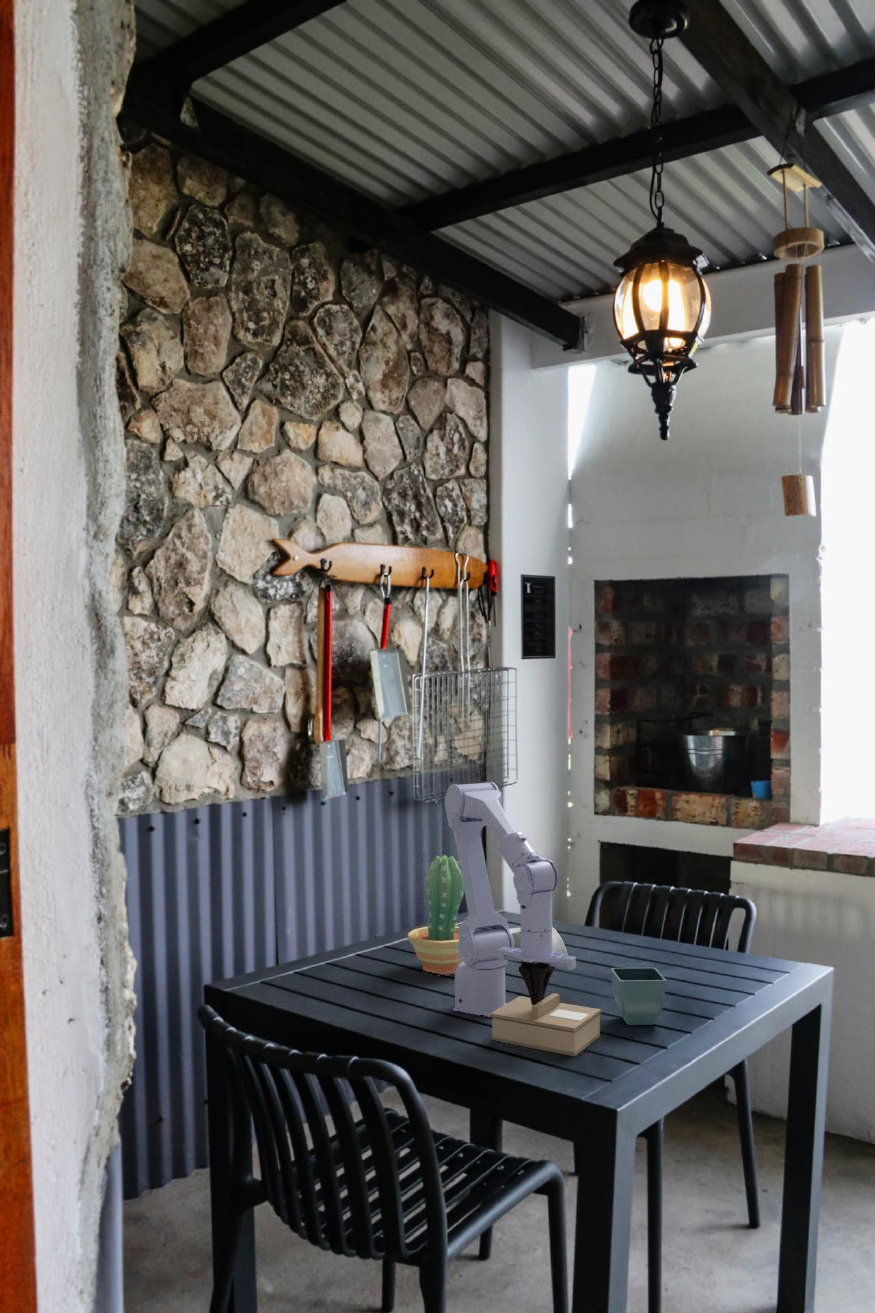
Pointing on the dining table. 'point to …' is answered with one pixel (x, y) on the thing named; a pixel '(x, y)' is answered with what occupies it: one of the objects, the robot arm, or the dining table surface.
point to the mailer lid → (547, 1013)
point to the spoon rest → (556, 940)
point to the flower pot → (638, 994)
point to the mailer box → (546, 1036)
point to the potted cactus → (440, 918)
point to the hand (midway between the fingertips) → (537, 1004)
